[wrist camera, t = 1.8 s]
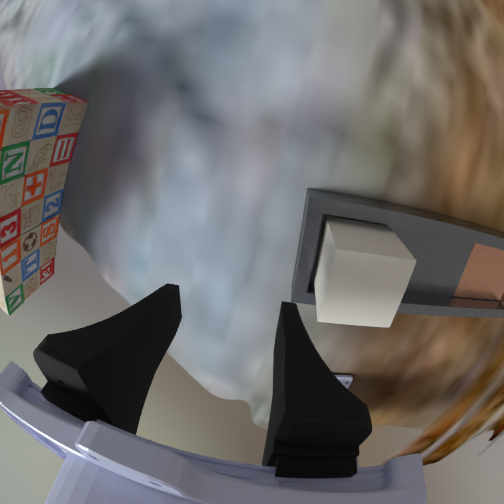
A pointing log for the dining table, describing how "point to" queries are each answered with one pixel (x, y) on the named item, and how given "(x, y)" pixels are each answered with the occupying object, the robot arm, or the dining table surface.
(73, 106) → the stack of blocks
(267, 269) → the dining table surface
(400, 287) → the block
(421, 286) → the gray rectangular tray
